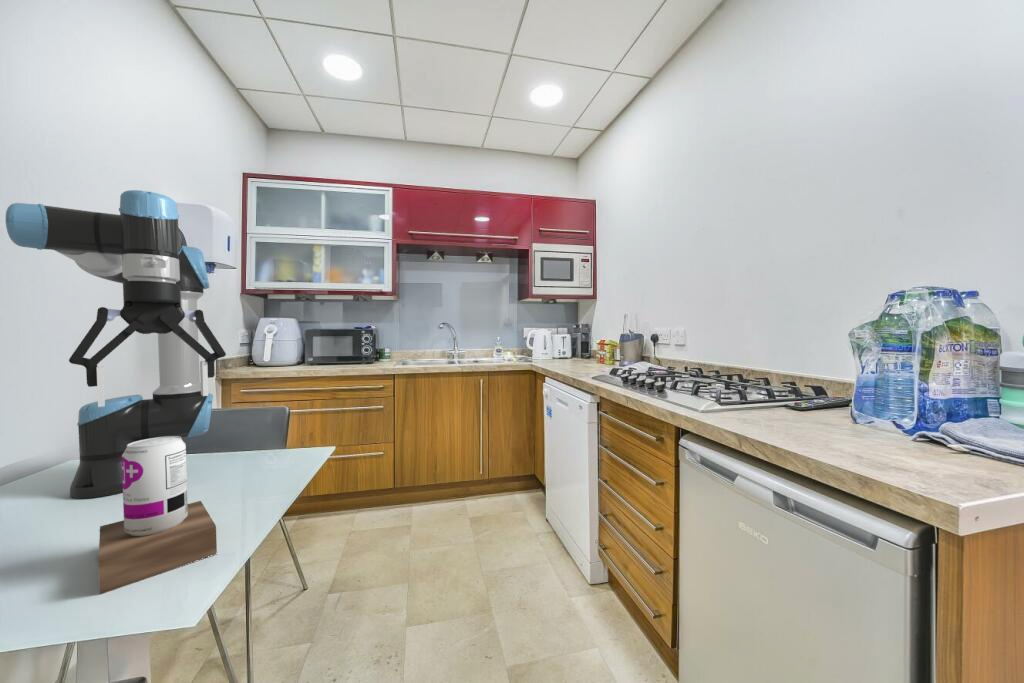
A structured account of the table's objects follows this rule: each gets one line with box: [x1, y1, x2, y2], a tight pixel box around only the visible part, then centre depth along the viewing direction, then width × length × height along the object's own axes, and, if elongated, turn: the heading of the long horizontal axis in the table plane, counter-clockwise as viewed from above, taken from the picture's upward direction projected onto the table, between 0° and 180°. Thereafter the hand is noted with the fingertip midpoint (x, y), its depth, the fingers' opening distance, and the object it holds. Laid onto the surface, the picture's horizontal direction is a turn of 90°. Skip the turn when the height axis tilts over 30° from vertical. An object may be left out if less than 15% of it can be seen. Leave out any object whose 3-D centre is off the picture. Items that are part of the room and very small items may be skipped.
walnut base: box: [98, 500, 218, 595], centre depth 68 cm, size 16×14×5 cm
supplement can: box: [122, 436, 189, 536], centre depth 68 cm, size 8×8×15 cm
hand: (156, 400), depth 69 cm, fingers open, 13 cm apart
